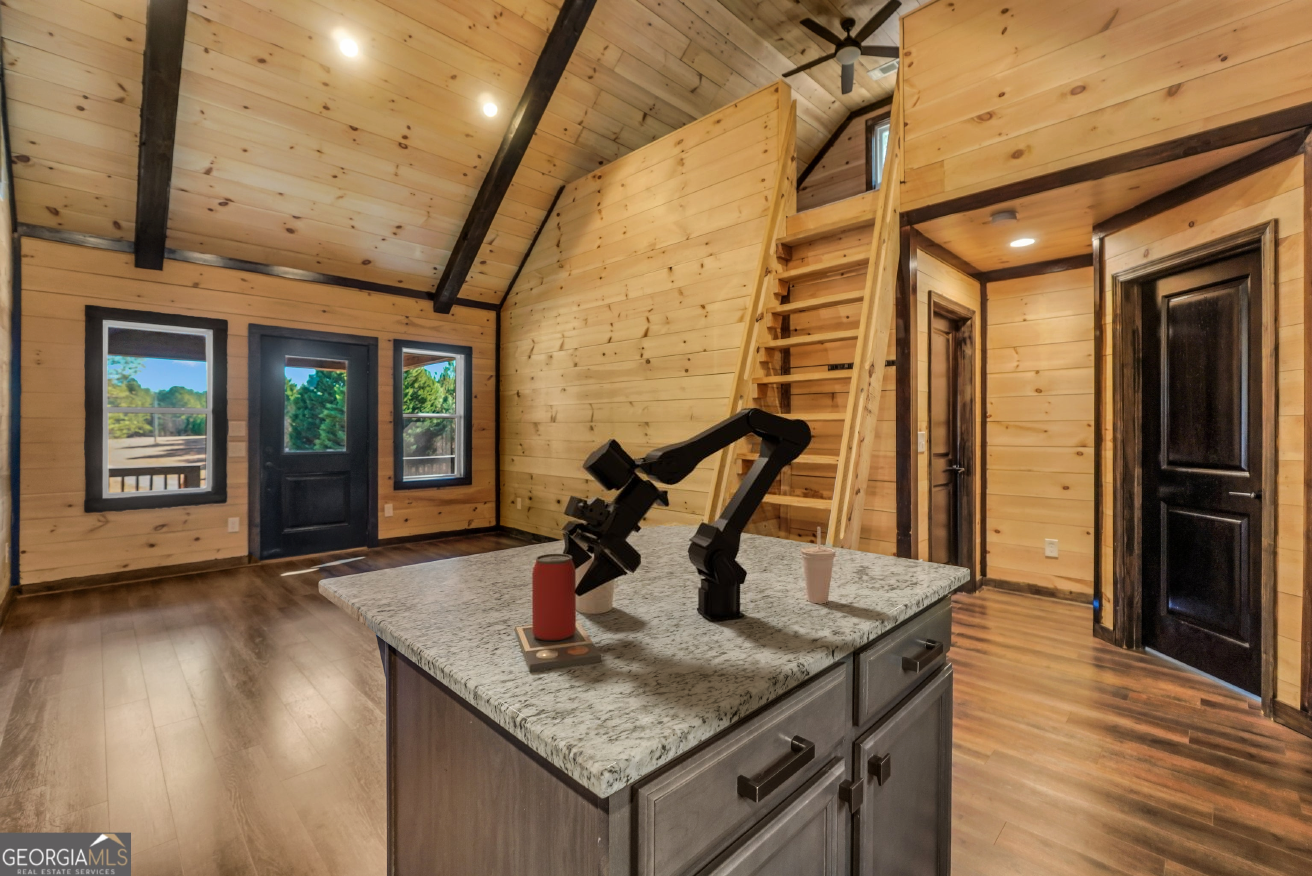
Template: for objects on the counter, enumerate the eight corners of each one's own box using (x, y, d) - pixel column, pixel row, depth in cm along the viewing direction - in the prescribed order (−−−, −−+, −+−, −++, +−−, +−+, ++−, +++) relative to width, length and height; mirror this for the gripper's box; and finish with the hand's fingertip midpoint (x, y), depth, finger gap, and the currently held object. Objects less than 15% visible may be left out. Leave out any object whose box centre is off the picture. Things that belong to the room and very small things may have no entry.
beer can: (543, 646, 86) (543, 564, 86) (525, 633, 92) (525, 556, 91) (583, 636, 90) (583, 558, 90) (563, 625, 95) (563, 550, 95)
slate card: (576, 625, 98) (576, 618, 98) (601, 661, 83) (601, 653, 83) (515, 632, 95) (514, 625, 95) (529, 671, 80) (529, 663, 80)
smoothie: (839, 599, 113) (839, 526, 113) (829, 608, 108) (830, 531, 107) (806, 594, 117) (807, 523, 116) (795, 602, 111) (796, 528, 111)
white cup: (618, 602, 111) (618, 549, 111) (611, 616, 103) (611, 559, 103) (577, 601, 112) (577, 548, 111) (567, 614, 104) (567, 558, 104)
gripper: (572, 473, 102) (510, 544, 97) (621, 482, 86) (550, 568, 80) (614, 514, 106) (556, 585, 101) (668, 530, 90) (603, 615, 85)
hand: (564, 587), depth 92 cm, fingers open, 9 cm apart
